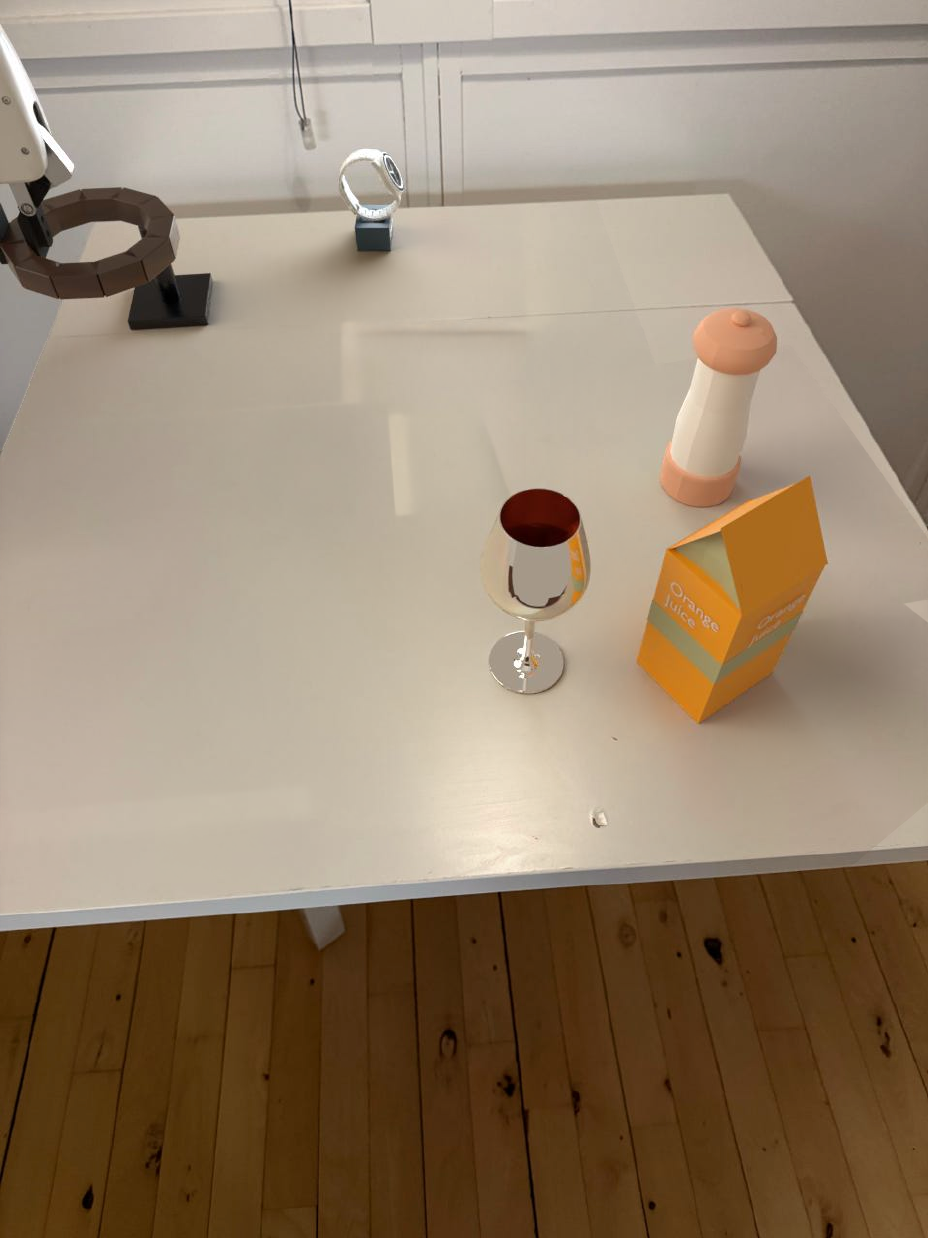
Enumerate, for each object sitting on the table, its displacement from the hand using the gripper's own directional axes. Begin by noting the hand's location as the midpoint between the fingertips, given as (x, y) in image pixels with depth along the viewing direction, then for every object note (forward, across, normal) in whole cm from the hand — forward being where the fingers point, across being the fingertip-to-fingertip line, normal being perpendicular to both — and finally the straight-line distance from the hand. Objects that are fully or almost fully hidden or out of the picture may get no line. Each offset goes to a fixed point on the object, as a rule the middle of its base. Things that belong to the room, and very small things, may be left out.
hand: (26, 252), depth 75 cm
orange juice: (+22, +55, -32) cm, 67 cm away
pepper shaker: (+22, +59, -10) cm, 64 cm away
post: (+22, +4, +25) cm, 34 cm away
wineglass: (+22, +40, -30) cm, 54 cm away
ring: (0, +6, 0) cm, 6 cm away
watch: (+22, +28, +38) cm, 52 cm away
